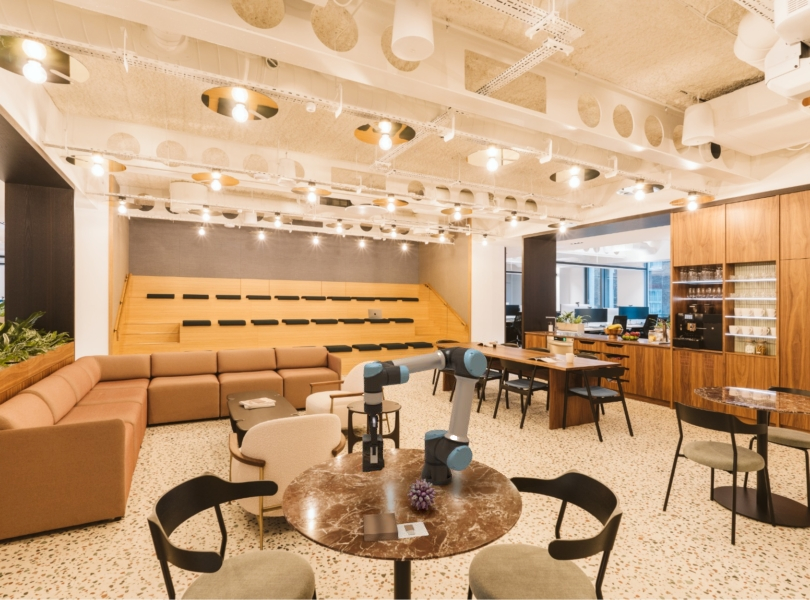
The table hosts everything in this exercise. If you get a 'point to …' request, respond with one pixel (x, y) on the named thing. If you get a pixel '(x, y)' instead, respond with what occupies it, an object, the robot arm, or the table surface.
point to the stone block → (366, 455)
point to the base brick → (380, 527)
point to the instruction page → (411, 530)
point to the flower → (421, 494)
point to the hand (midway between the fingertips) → (373, 458)
